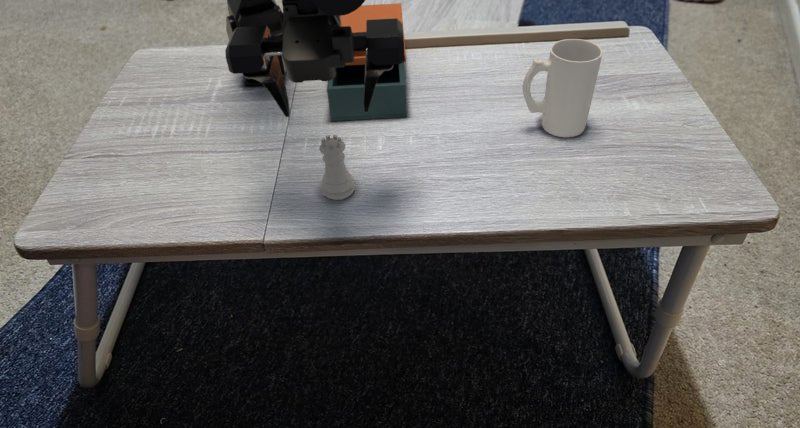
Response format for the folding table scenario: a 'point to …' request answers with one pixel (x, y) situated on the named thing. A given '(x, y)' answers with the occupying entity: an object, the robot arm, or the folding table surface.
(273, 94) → the robot arm
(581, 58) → the mug
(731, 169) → the folding table surface
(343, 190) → the rook chess piece
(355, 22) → the bin lid
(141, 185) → the folding table surface
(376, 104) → the bin
